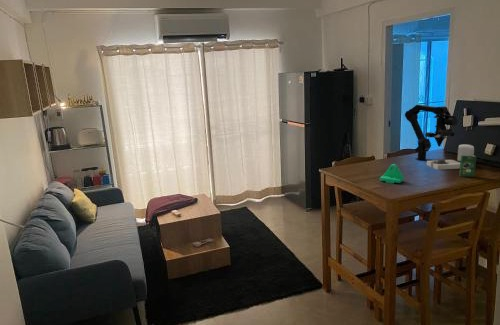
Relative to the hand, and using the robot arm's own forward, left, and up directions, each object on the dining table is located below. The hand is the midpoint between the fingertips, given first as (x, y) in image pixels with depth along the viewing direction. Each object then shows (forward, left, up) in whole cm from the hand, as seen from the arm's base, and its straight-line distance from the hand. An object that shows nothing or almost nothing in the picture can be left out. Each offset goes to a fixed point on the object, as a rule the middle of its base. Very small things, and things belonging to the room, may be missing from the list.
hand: (439, 146), depth 265 cm
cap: (+12, -5, -12) cm, 18 cm away
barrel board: (+12, -2, -12) cm, 17 cm away
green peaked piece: (+40, -51, -12) cm, 67 cm away
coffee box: (+38, -3, -12) cm, 40 cm away
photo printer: (0, +20, -12) cm, 23 cm away
